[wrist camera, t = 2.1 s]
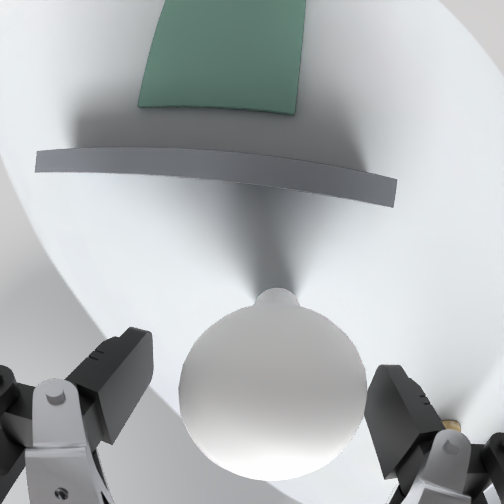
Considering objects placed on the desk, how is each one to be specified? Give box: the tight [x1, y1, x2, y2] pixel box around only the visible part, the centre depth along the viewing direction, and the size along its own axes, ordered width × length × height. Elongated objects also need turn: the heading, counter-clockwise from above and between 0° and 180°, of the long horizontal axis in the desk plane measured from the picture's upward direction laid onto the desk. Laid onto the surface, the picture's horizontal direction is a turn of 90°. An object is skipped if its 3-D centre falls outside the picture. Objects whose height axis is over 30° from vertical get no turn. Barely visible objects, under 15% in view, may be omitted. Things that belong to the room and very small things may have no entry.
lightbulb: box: [178, 288, 367, 481], centre depth 11 cm, size 6×6×11 cm
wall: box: [35, 147, 397, 208], centre depth 13 cm, size 18×1×4 cm, turn 83°
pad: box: [137, 0, 306, 115], centre depth 13 cm, size 9×9×1 cm
